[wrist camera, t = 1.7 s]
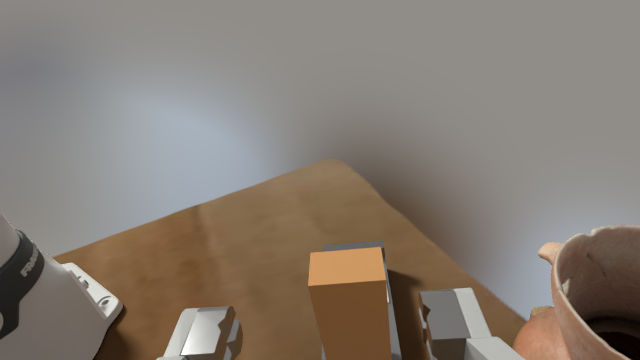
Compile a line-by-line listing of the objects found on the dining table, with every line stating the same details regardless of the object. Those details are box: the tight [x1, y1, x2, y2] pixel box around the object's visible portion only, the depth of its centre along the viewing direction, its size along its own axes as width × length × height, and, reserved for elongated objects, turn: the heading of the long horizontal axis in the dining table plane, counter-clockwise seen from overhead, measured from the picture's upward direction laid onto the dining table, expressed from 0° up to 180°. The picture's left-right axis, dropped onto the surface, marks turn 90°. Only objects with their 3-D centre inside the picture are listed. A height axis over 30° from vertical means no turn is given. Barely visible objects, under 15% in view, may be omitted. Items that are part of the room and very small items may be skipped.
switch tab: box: [308, 247, 392, 360], centre depth 28 cm, size 3×5×12 cm, turn 88°
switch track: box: [322, 241, 402, 360], centre depth 35 cm, size 20×7×4 cm, turn 178°
